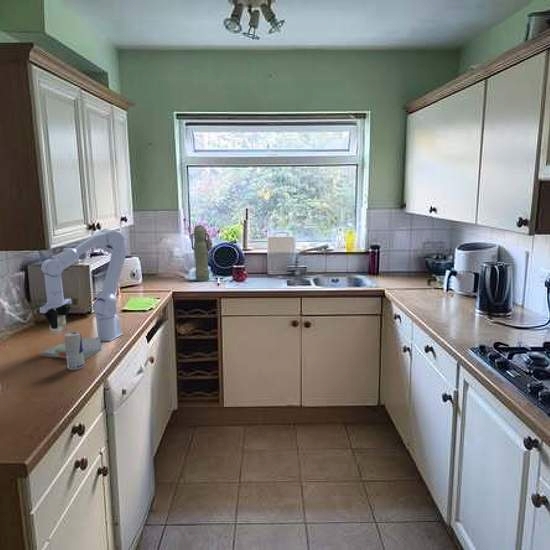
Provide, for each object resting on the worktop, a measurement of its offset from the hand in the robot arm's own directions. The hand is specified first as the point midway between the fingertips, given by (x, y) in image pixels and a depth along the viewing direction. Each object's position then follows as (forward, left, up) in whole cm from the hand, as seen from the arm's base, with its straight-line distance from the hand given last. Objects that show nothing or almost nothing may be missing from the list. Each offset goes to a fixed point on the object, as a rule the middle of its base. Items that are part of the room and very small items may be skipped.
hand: (58, 326), depth 183 cm
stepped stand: (+3, +7, -9) cm, 12 cm away
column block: (0, 0, -2) cm, 2 cm away
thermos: (-137, -3, -9) cm, 137 cm away
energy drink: (+15, +18, -9) cm, 26 cm away
